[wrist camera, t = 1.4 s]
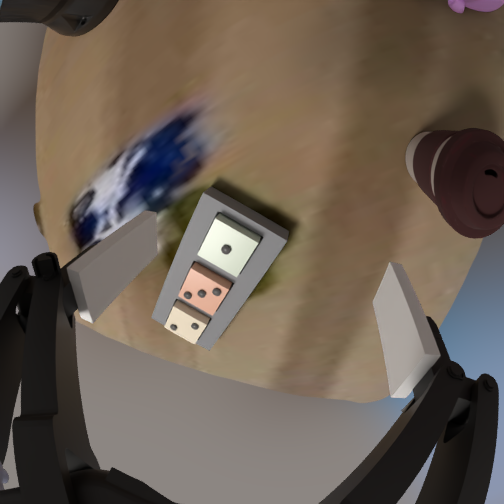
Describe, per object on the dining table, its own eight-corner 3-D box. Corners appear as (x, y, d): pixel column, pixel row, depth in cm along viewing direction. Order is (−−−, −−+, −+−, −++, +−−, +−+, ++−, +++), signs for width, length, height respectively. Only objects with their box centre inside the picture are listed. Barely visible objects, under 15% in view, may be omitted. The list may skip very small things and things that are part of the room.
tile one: (204, 244, 38) (196, 255, 36) (222, 210, 36) (214, 219, 33) (242, 265, 39) (236, 278, 36) (262, 233, 36) (258, 244, 33)
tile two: (171, 316, 47) (163, 328, 44) (180, 295, 44) (172, 307, 41) (200, 332, 47) (194, 345, 45) (212, 313, 44) (206, 326, 42)
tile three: (185, 285, 43) (177, 297, 40) (198, 257, 40) (190, 269, 37) (218, 303, 43) (212, 317, 40) (234, 278, 40) (228, 291, 37)
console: (158, 307, 49) (151, 317, 46) (211, 186, 36) (203, 192, 33) (214, 339, 50) (209, 350, 47) (289, 231, 37) (287, 240, 34)
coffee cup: (431, 210, 31) (485, 266, 18) (380, 163, 30) (425, 198, 17) (469, 156, 26) (540, 188, 13) (421, 105, 25) (487, 105, 12)
